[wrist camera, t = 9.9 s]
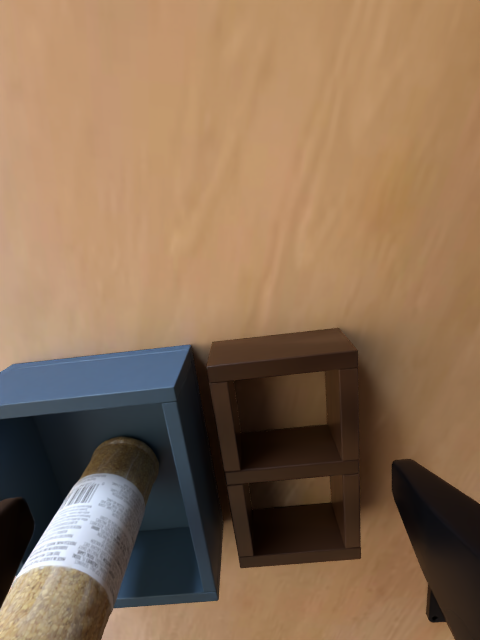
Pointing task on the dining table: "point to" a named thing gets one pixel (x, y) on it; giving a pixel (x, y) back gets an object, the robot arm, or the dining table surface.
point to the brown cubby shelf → (291, 449)
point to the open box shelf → (109, 422)
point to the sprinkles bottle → (83, 549)
